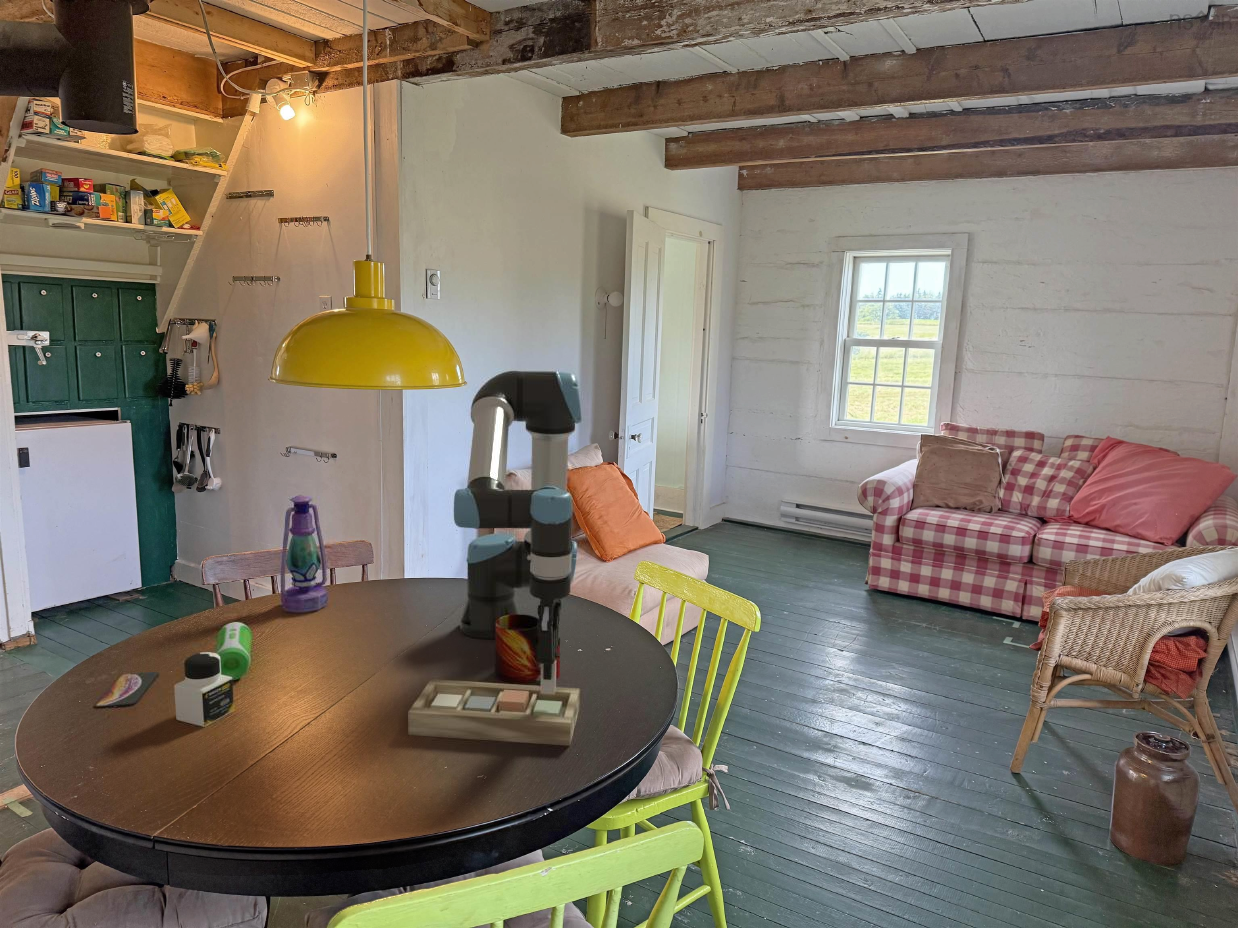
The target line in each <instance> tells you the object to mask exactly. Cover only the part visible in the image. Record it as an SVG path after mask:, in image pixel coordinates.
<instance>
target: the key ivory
mask: <svg viewBox="0 0 1238 928" xmlns="http://www.w3.org/2000/svg"><path fill="white" fill-rule="evenodd" d="M462 699H463V695H451V694H438V695H437V697H436V698H435V700H434V701H433V703H432V704H431V708H434V709H449V710H457V708H458V706H459V704H460V703H461V701H462Z"/></svg>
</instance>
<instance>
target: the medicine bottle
mask: <svg viewBox="0 0 1238 928" xmlns="http://www.w3.org/2000/svg"><path fill="white" fill-rule="evenodd" d="M183 663H184V664H183V665H184V680H182V681H180V682H177V683H176V684H174V702H175V704H174V705H175V718H176V720H177V721H180V722H184V723H186V724H187V723H188V724H192V725H195V726H197V727H198V726H199V727H203V728H206V727H208V726H209V725H211V724H213V723H215V722H217V721H218V720H220V719H222V718H224V717H226V716H228V715H230V714H231V713H233V712H234V711H235V703H234V702H235V701H234V685H233V681H234V680H232V677H230V676H225V675H221V662H220V656H219V655H218V654H216V653H215V652H210V651H209V652H207V651H204V652H199V653H195V654H192V655H190V656H188V657H187V658H186V659H185V660H184V662H183Z"/></svg>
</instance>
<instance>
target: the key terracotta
mask: <svg viewBox="0 0 1238 928" xmlns="http://www.w3.org/2000/svg"><path fill="white" fill-rule="evenodd" d="M528 702H529V691H517V690H504V692H503V694H502V696H501V698H500V700H499V711H507V712H522V713H524V712H525V709H526V707H527V704H528Z"/></svg>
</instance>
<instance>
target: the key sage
mask: <svg viewBox="0 0 1238 928" xmlns="http://www.w3.org/2000/svg"><path fill="white" fill-rule="evenodd" d="M561 713H562V702H560V701H544V700H537V703H536V705H535V708H534V711H533V715H541V716H557V717H560V716H561Z"/></svg>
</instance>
